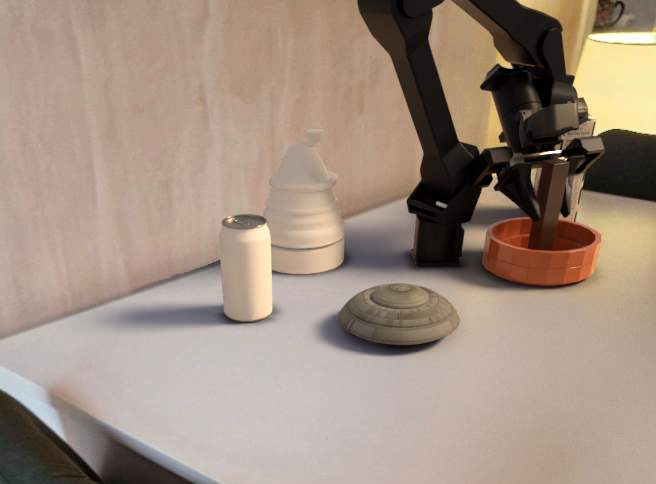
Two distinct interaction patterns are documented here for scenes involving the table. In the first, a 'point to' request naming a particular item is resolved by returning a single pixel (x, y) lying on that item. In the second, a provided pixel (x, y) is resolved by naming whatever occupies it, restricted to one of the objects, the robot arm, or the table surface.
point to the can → (246, 267)
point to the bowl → (541, 253)
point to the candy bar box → (583, 131)
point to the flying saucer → (399, 315)
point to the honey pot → (304, 212)
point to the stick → (548, 204)
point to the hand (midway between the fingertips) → (552, 218)
